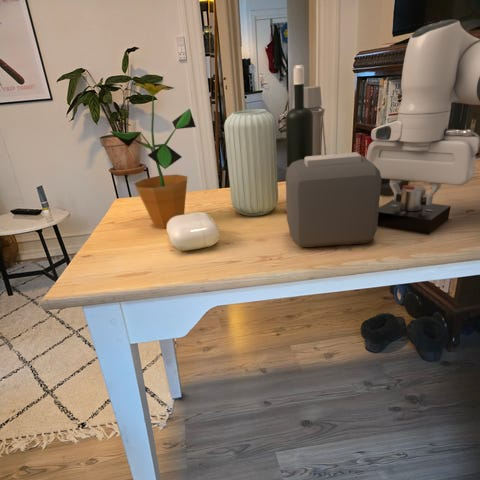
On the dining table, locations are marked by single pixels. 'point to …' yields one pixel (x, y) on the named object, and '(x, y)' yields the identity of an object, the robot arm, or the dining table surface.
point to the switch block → (386, 186)
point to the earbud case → (192, 231)
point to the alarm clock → (332, 199)
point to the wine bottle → (299, 122)
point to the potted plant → (163, 186)
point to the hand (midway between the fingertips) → (411, 202)
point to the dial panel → (413, 217)
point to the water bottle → (315, 116)
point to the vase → (252, 161)
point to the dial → (412, 198)
